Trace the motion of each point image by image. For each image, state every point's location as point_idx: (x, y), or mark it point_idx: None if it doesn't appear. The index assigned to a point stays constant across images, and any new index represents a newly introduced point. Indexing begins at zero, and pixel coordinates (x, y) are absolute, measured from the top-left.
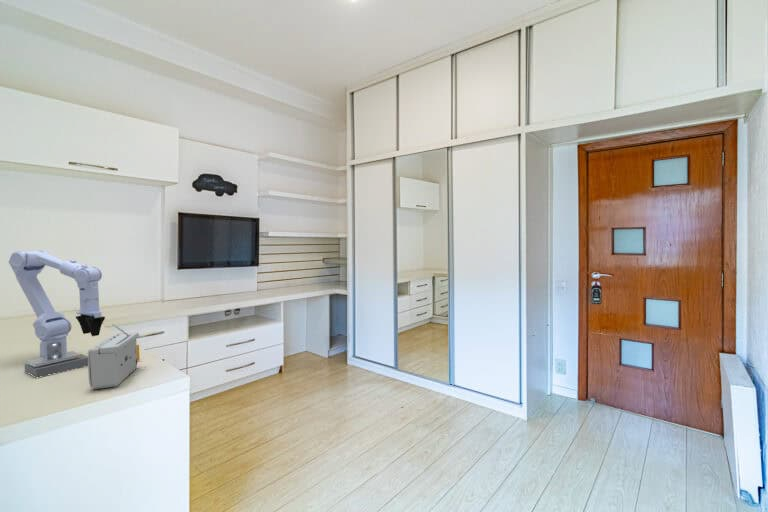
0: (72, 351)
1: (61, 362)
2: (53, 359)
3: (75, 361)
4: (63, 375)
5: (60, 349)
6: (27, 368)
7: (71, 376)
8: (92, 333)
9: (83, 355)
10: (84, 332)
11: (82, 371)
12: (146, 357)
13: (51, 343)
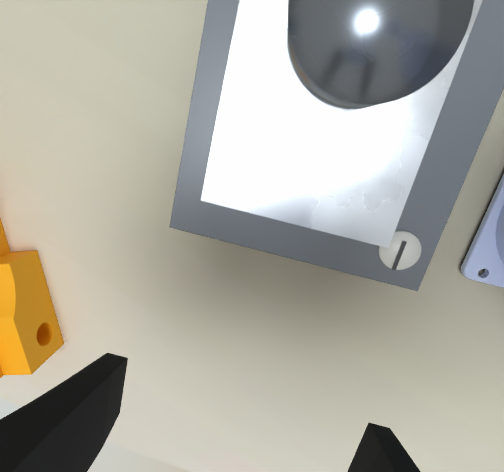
0: (380, 242)
1: None
2: (279, 3)
3: (187, 135)
4: (128, 6)
5: (292, 70)
6: None
7: (53, 12)
8: (78, 376)
9: (271, 249)
10: (370, 442)
11: (98, 110)
12: (30, 393)
13: (438, 3)
